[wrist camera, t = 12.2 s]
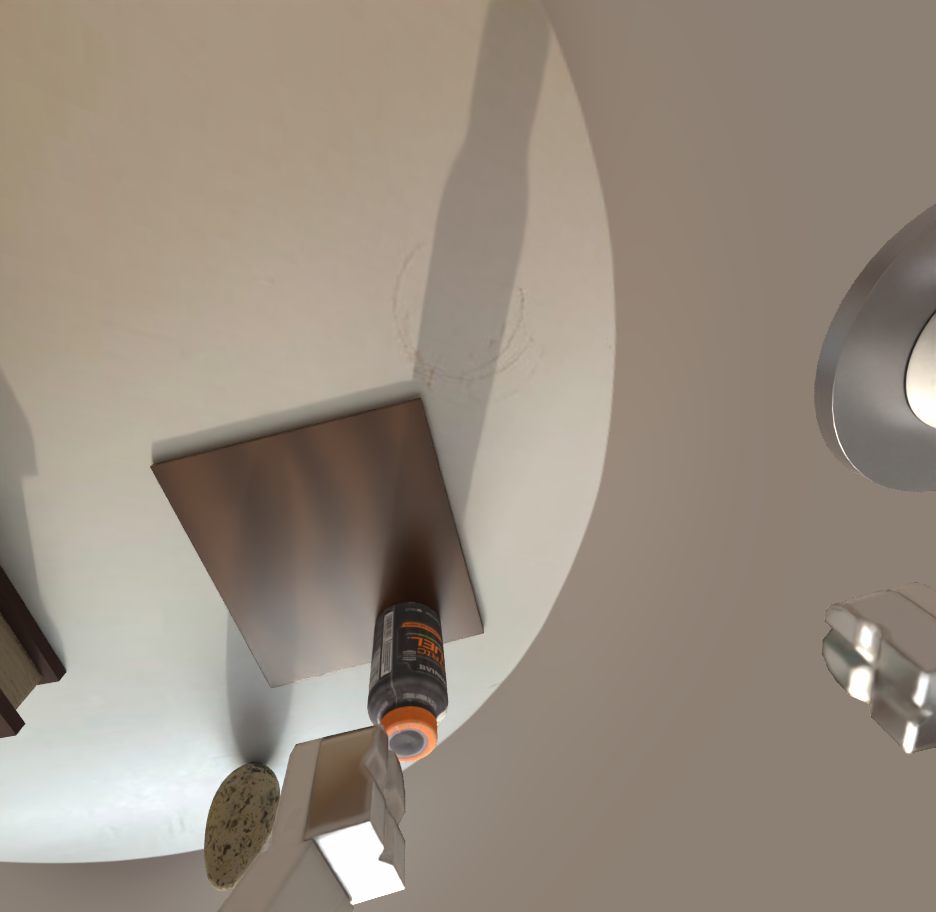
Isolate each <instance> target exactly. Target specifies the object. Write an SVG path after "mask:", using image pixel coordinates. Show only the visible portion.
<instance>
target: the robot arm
mask: <svg viewBox="0 0 936 912" xmlns="http://www.w3.org/2000/svg"><path fill="white" fill-rule="evenodd" d="M906 392H907V398H908V401H909V404H910V407H911V409H912V410H913V412H914V414H915V415H916V416H917V417H918V418H919V419H920V420H921V421H922V422H924V423H925V424H927V425H929V426H931V427H934V428H936V313H935V314H934V315H933V316H932V318H931V319H930V321H929V322H928V323H927V325H926V327H925V328H924V330H923V331H922V333H921V335H920V337H919V339H918V341H917V343H916V345H915V347H914V350H913V352H912V355H911V358H910V361H909V365H908V370H907V376H906ZM825 622H826V623H827V624H828V625H829V626H830V627H831V628H832V629H831V630H830V631H829V633H828V634H827V635H826V636H825V638H824V639H823V647H822V655H823V657H824V660H825V662H826V665H827V668H828V670H829V671H830V673H831V674H832V676H833V677H834V679H835V680H836V682H837V683H838V684H839V685H840V686H841V687H842V688H843V689H844V690H845V691H846V692H847V693H848V694H849V695H851V696H854V697H856V698H858V699H860V700H862V701H865V702H867V703H869V708H870V713H871V718H872V719H873V720H875V721H876V722H877V724H878V725H879V726H880V727H881V728H882V729H883V730H884V731H885V732H886V733H887V734H888V735H889V736H890V737H891V738H892V739H893V740H894V741H895V742H896V743H897V744H898V745H899V746H900V747H901V748H902V749H903V750H904V751H905V752H906V753H907V754H910V753H914V752H918V751H923V750H927V749H931V748H936V591H935V590H934V589H932V588H931V587H929V586H927V585H924V584H920V583H918V582H914V583H910V584H907V585H903V586H899V587H895V588H892V589H888V590H885V591H877V592H874V593H871V594H867V595H863V596H860V597H856V598H853V599H849V600H845V601H842V602H839V603H835V604H831V605H830V606H829V608H828V609H827V610H826V615H825ZM404 813H405V789H404V780H403V773H402V769H401V766H400V762H399V759H398V757H397V755H396V753H395V752H393V751H391V750H389V749H388V734H387V732H386V730H385V728H384V726H383V724H378V725H374V726H370V727H366V728H361V729H357V730H353V731H348V732H344V733H340V734H335V735H331V736H327V737H323V738H319V739H315V740H311V741H307V742H303V743H299V744H296V745H295V747H294V749H293V751H292V752H291V754H290V757H289V761H288V766H287V770H286V774H285V778H284V783H283V787H282V791H281V795H280V800H279V804H278V808H277V813H276V817H275V821H274V825H273V830H272V834H271V838H270V842H269V847H268V851H266V852H263V853H259V854H258V855H257V856H256V858H255V859H254V861H253V862H252V863H251V865H250V866H249V868H248V869H247V870H246V872H245V873H244V875H243V876H242V878H241V879H240V880H239V882H238V883H237V885H236V886H235V888H234V889H233V890H232V892H231V893H230V895H229V896H228V897H227V899H226V900H225V901H224V903H223V904H222V906H221V907H220V909H219V910H218V911H217V912H352V911H353V906H352V904H355V903H359V902H362V901H365V900H369V899H372V898H375V897H378V896H382V895H385V894H388V893H392V892H395V891H398V890H402V889H405V840H404V838H403V835H402V833H401V831H400V829H399V827H398V824H399V822H400V821H401V819H402V817H403V815H404Z"/></svg>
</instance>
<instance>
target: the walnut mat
mask: <svg viewBox="0 0 936 912" xmlns="http://www.w3.org/2000/svg"><path fill="white" fill-rule="evenodd" d="M150 468H151V469H152V471H153V473H154V475H155V477H156V479H157V480H158V482H159V484H160V486H161V488H162V489H163V491H164V493H165V495H166V497H167V499H168V500H169V502H170V504H171V506H172V508H173V510H174V511H175V513H176V515H177V517H178V519H179V521H180V522H181V524H182V526H183V528H184V530H185V531H186V533H187V535H188V537H189V539H190V541H191V542H192V544H193V546H194V548H195V550H196V552H197V553H198V555H199V557H200V559H201V561H202V563H203V564H204V566H205V568H206V570H207V572H208V574H209V575H210V577H211V579H212V581H213V583H214V584H215V586H216V588H217V590H218V592H219V594H220V595H221V597H222V599H223V601H224V603H225V605H226V606H227V608H228V610H229V612H230V614H231V616H232V617H233V619H234V621H235V623H236V625H237V626H238V628H239V630H240V632H241V634H242V636H243V637H244V639H245V641H246V643H247V645H248V647H249V648H250V650H251V652H252V654H253V656H254V658H255V659H256V661H257V663H258V665H259V667H260V669H261V670H262V672H263V674H264V676H265V678H266V679H267V681H268V683H269V685H270V687H271V688H274V687H278V686H282V685H286V684H290V683H293V682H297V681H301V680H305V679H309V678H313V677H317V676H320V675H324V674H328V673H332V672H336V671H340V670H344V669H347V668H351V667H355V666H359V665H363V664H367V663H371V660H372V649H373V637H374V627H375V623H376V621H377V619H378V617H379V616H380V615H381V614H382V613H383V612H384V611H385V610H386V609H387V608H389V607H391V606H393V605H395V604H399V603H404V602H415V603H420V604H423V605H426V606H428V607H430V608H431V609H432V610H433V611H434V612H435V613H436V614H437V615H438V617H439V619H440V621H441V626H442V638H443V644H444V643H448V642H452V641H456V640H459V639H463V638H467V637H471V636H475V635H479V634H483V633H484V630H483V627H482V623H481V619H480V616H479V612H478V608H477V605H476V601H475V597H474V594H473V590H472V586H471V582H470V579H469V575H468V571H467V568H466V564H465V560H464V557H463V553H462V549H461V546H460V542H459V538H458V535H457V531H456V527H455V524H454V520H453V516H452V513H451V509H450V505H449V501H448V498H447V494H446V490H445V487H444V483H443V479H442V476H441V472H440V468H439V465H438V461H437V457H436V454H435V450H434V446H433V443H432V439H431V435H430V432H429V428H428V424H427V421H426V417H425V413H424V409H423V406H422V402H421V399H420V398H418V399H414V400H410V401H406V402H402V403H398V404H394V405H390V406H386V407H382V408H378V409H374V410H370V411H366V412H362V413H358V414H354V415H350V416H346V417H342V418H338V419H334V420H330V421H326V422H321V423H317V424H313V425H309V426H305V427H301V428H297V429H293V430H289V431H285V432H281V433H277V434H273V435H269V436H265V437H261V438H257V439H253V440H249V441H245V442H241V443H237V444H233V445H229V446H225V447H221V448H217V449H213V450H209V451H205V452H201V453H197V454H193V455H189V456H185V457H181V458H177V459H172V460H168V461H164V462H160V463H156V464H153V465H151V466H150Z"/></svg>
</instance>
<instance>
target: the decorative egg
mask: <svg viewBox="0 0 936 912" xmlns="http://www.w3.org/2000/svg"><path fill="white" fill-rule="evenodd" d="M279 800H280V788H279V783H278V780H277V777H276V775H275V774H274V772H273V771H272V770H271V769H270V768H269V767H267V766H266V765H263V764H260V763H250V764H246V765H243V766H241V767H239V768H237V769H236V770H234V771H233V772H232V773H231V774H230V775H229V776H228V777H227V778H226V779H225V780H224V781H223V782H222V784H221V785H220V787H219V789H218V790H217V792H216V794H215V796H214V798H213V801H212V804H211V807H210V810H209V814H208V818H207V823H206V830H205V843H204V857H205V867H206V872H207V876H208V879H209V881H210V883H211V885H212V886H213V887H214V888H215V889H217V890H219V891H226V890H229V889H231V888H233V887H235V886H236V885H237V883H238V882H239V880H240V879H241V878H242V876H243V875H244V873H245V872H246V870H247V869H248V868H249V866H250V865H251V863H252V862H253V861H254V859H255V858H256V856H257V855H258V854H259V853H261V852H262V850H263V848H264V846H265V844H266V842H267V840H268V838H269V836H270V834H271V831H272V829H273V825H274V821H275V817H276V813H277V808H278V804H279Z"/></svg>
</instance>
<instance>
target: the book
mask: <svg viewBox="0 0 936 912" xmlns="http://www.w3.org/2000/svg"><path fill="white" fill-rule="evenodd" d="M65 673H66V671H65V669H64V667H63V666H62V664H61V662H60V661H59V659H58V658H57V656H56V654H55V653H54V651H53V650H52V648H51V646H50V645H49V643H48V642H47V640H46V638H45V637H44V635H43V634H42V632H41V630H40V629H39V627H38V626H37V624H36V622H35V621H34V619H33V618H32V616H31V614H30V613H29V611H28V609H27V608H26V606H25V605H24V603H23V601H22V600H21V598H20V597H19V595H18V593H17V592H16V590H15V589H14V587H13V585H12V584H11V582H10V581H9V579H8V577H7V576H6V574H5V573H4V571H3V569H2V568H1V566H0V738H4V737H9V736H15V735H17V734H18V732H19V731H20V730H21V728H22V727H23V726H24V725H25V722H24V721H23V720H22V718H21V717H20V715H19V714H18V712H17V711H16V709H17V708H18V707H19V705H20V704H21V703H22V702H23V701H24V699H25V698H26V697H27V696H28V695H29V694H30V692H31V691H32V690H33V689H34V688H35V686H36V685H40V684H46V683H51V682H57V681H60V679H61V678H62V677H63V676H64V674H65Z"/></svg>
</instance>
